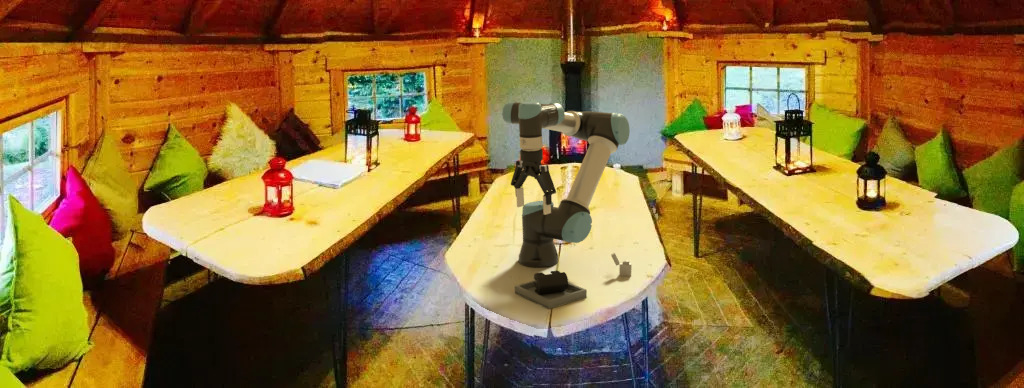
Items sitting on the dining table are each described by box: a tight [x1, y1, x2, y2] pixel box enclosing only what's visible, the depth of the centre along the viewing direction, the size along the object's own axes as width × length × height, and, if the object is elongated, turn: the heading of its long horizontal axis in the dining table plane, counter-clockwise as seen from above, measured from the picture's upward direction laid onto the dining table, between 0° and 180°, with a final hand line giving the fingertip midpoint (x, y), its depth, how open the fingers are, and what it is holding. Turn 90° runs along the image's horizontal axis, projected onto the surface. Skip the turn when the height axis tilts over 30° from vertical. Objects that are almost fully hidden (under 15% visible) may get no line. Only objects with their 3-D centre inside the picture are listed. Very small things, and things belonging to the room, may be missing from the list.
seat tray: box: [514, 279, 588, 310], centre depth 236 cm, size 18×16×3 cm
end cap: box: [533, 270, 569, 295], centre depth 235 cm, size 10×7×7 cm
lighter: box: [610, 252, 632, 277], centre depth 253 cm, size 7×2×8 cm, turn 83°
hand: (533, 210), depth 242 cm, fingers open, 13 cm apart
